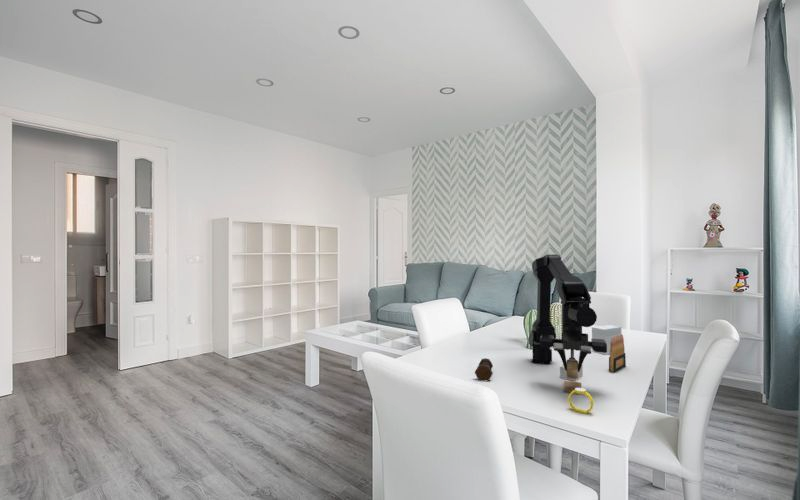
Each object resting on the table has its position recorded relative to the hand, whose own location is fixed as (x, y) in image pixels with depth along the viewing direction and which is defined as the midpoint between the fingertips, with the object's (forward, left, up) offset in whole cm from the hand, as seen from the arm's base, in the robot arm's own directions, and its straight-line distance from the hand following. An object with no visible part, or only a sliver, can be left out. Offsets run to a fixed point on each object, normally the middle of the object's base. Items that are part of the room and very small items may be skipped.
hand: (572, 370), depth 119 cm
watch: (+2, -17, -6) cm, 18 cm away
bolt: (-28, +4, -6) cm, 29 cm away
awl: (0, 0, -2) cm, 2 cm away
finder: (0, +12, -6) cm, 13 cm away
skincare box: (+13, +52, -6) cm, 54 cm away
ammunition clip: (+15, +27, -6) cm, 31 cm away
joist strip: (0, +8, -6) cm, 10 cm away
